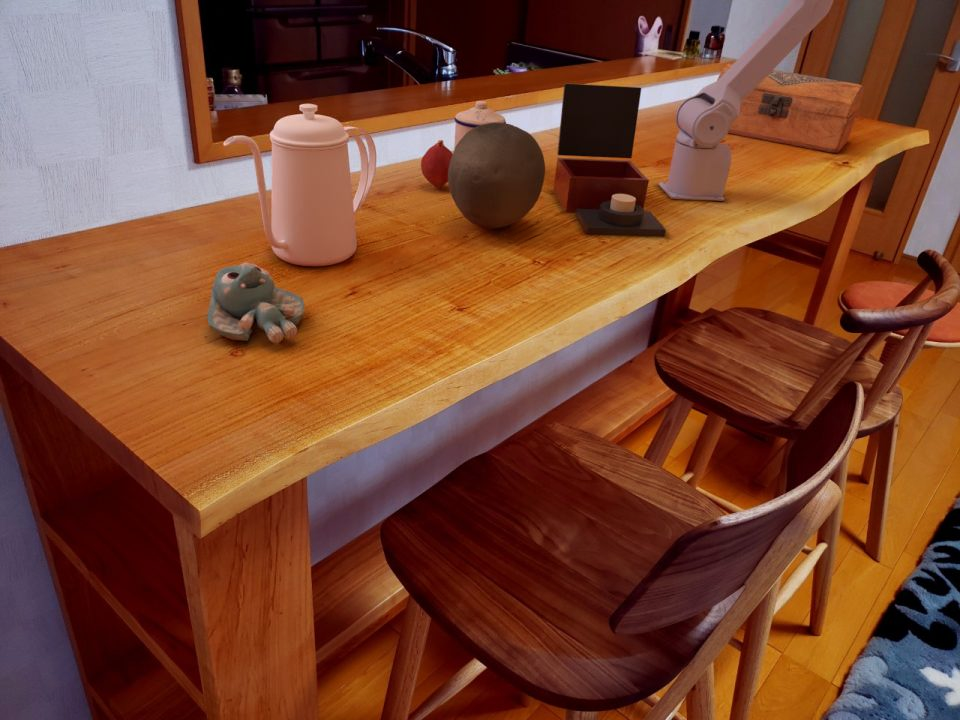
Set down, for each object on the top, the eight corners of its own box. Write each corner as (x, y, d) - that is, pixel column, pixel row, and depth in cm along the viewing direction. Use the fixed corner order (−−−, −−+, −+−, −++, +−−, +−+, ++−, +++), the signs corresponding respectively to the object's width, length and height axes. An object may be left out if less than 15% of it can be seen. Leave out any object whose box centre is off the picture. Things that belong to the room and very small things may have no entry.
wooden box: (702, 129, 176) (716, 67, 169) (722, 118, 188) (736, 59, 181) (836, 156, 163) (857, 89, 156) (848, 142, 175) (868, 80, 168)
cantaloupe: (430, 215, 113) (434, 113, 106) (514, 208, 118) (524, 111, 111) (465, 251, 102) (473, 140, 95) (556, 242, 108) (570, 136, 100)
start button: (629, 206, 115) (632, 194, 114) (636, 214, 112) (638, 202, 111) (607, 205, 115) (609, 193, 114) (613, 213, 112) (615, 201, 111)
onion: (413, 186, 125) (414, 137, 120) (437, 180, 128) (439, 133, 124) (437, 195, 121) (439, 146, 117) (462, 189, 125) (465, 141, 121)
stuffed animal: (237, 318, 70) (178, 254, 76) (237, 375, 75) (182, 310, 81) (334, 289, 77) (273, 233, 83) (329, 344, 81) (271, 286, 87)
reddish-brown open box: (642, 215, 120) (649, 180, 117) (565, 213, 118) (570, 177, 116) (624, 194, 129) (630, 160, 126) (553, 191, 128) (557, 157, 125)
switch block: (648, 218, 119) (652, 200, 118) (664, 237, 112) (668, 218, 111) (575, 216, 118) (577, 197, 116) (586, 234, 111) (589, 215, 109)
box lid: (641, 87, 121) (640, 87, 122) (565, 83, 119) (564, 83, 120) (631, 158, 126) (630, 157, 126) (558, 155, 124) (557, 154, 125)
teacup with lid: (474, 178, 131) (479, 110, 125) (441, 165, 136) (444, 98, 130) (523, 168, 138) (530, 103, 132) (490, 156, 143) (495, 93, 137)
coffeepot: (206, 272, 91) (186, 113, 81) (344, 218, 109) (340, 84, 100) (272, 297, 86) (259, 132, 77) (403, 237, 105) (406, 98, 95)
